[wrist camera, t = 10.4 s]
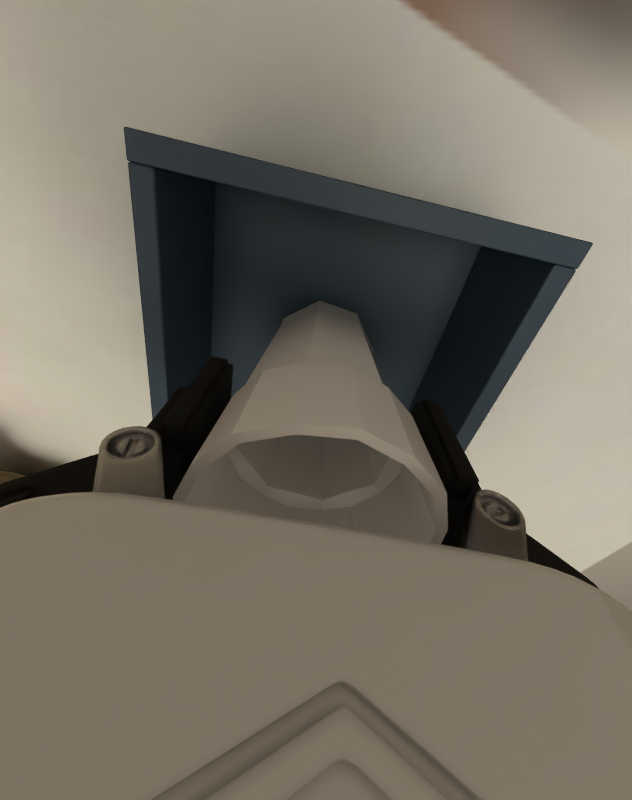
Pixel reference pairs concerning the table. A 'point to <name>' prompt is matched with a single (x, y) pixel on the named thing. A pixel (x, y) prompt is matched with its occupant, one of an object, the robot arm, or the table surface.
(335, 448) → the cup
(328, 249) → the dish tub
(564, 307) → the table surface
